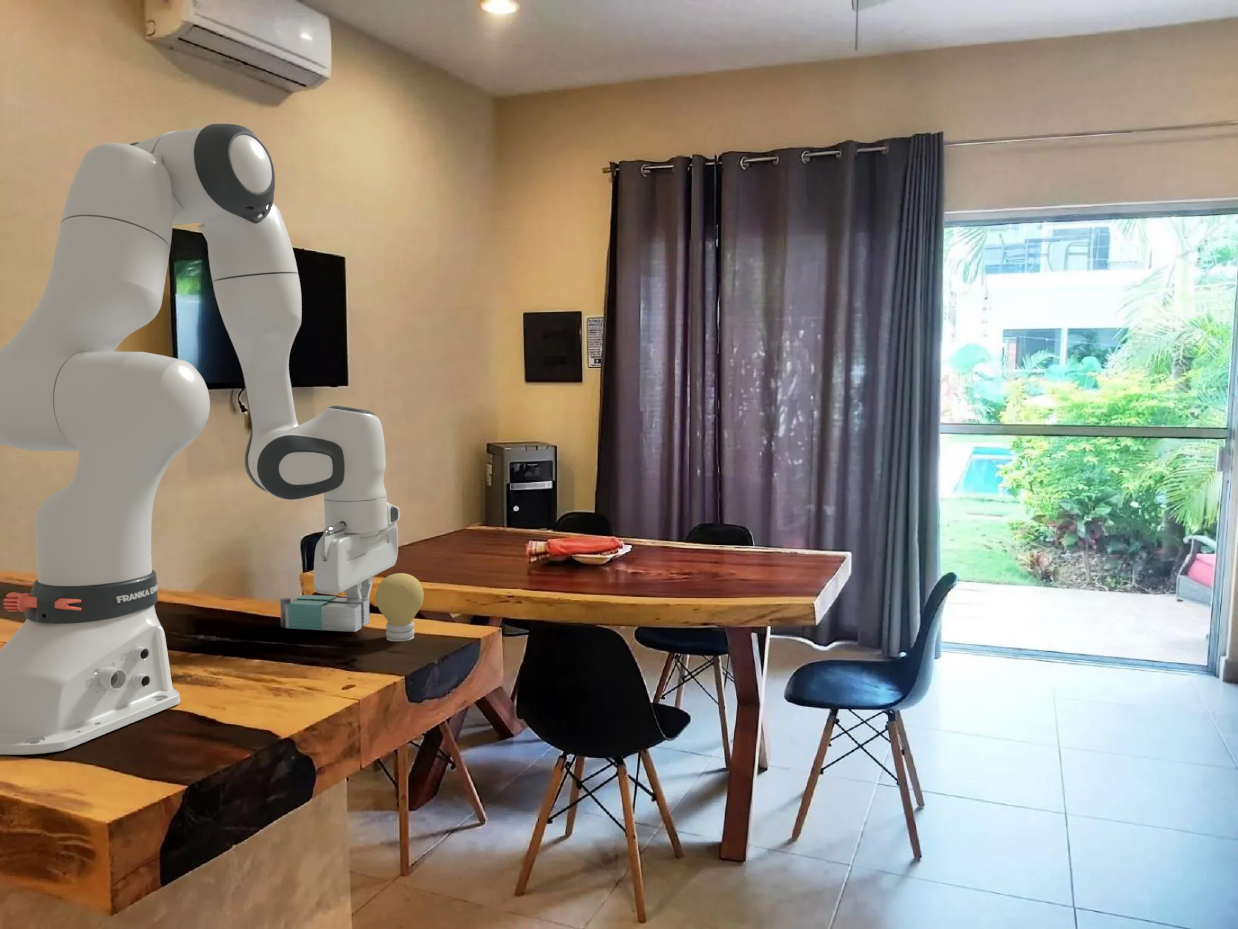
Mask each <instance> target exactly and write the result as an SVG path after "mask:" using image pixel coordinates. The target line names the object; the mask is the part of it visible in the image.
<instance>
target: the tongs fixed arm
mask: <svg viewBox="0 0 1238 929" xmlns="http://www.w3.org/2000/svg"><path fill="white" fill-rule="evenodd" d="M279 603H280V604H279V605H280V627H281V628H285V629H290V630H291V629H294V630H295V629H296V630H313V631H333V632H334V631H335V632H350V633H351V632H353V633H354V632H355V633H357V632H358V631H359V630H361V629H363V628H362V627H363V626H362V623H361V605H358V604H338V603H329V601H309V600H295V601H294V600H292V599H291V598H290V597H284V598H280V600H279Z"/></svg>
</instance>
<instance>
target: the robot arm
mask: <svg viewBox="0 0 1238 929" xmlns="http://www.w3.org/2000/svg"><path fill="white" fill-rule="evenodd" d="M275 175H276V174H275V168H274V163H273V159H272V156H271V154H270V152H269V150H268V148H267V147H266V145H265V144H264V143H263V142H262V141H261V139H259V137H258V136H257V135H256V134H255V133H254V132H253V131H252V130H250V129H249V128H247V127H246V126H243V125H240V124H233V123H211V124H208V125H206V126H204V127H196V128H189V129H182V130H172V131H167V132H164V133H161V134H157V135H156V136H153V137H150V138H147V139H145V140H143V141H139V142H136V141H135V142H132V143H130V144H128V143H122V142H108V143H107V142H105V143H101V144H98V145H95V146H93V147H92V148H90V149H89V150H88V151H87V152H86V153H85V154H84V156H83V158H81V161H80V163H79V165H78V167H77V170H76V172H75V174H74V177H73V180H72V182H71V184H70V187H69V190H68V193H67V196H66V200H65V203H64V207H63V211H62V216H61V220H60V221H61V222H60V225H59V230H58V236H57V241H56V245H55V250H54V255H53V259H52V264H51V267H50V272H49V275H48V279H47V282H46V283H47V284H46V286H45V288H44V291H43V292H42V296H41V297H40V299H39V301H38V302H37V304H36V307H35V308H34V310H33V311H32V313H31V315H30V316H29V318H27V320H26V322H24V324H23V325H22V327H21V328H20V329H19V330H18V332H17V333H15V335H14V336H13V337H12V338H11V339H10V340H9V341H8V342H6V344H5V345H4V346H3V347H1V348H0V445H3V446H6V447H11V448H16V449H22V450H26V451H29V452H30V451H34V452H36V451H40V452H41V451H42V452H43V451H44V452H52V451H53V452H78V462H77V467H76V470H75V473H74V474H73V475H74V476H73V478H72V479H71V481H70V482H69V484H68V485H67V486H66V487H63V488H61V489H59V490H58V491H56V492H54V493H53V494H51V495H50V496H48V498H46V499H44V501H43V502H42V503H40V505H39V507H38V509H37V510H36V513H35V515H34V516H35V517H34V529H35V530H34V531H35V532H34V533H35V534H34V536H35V553H36V554H35V555H36V572H37V573H36V574H37V579H36V580H35V581H34V582H33V584H32V587H31V591H30V593H29V592H24V593H21V592H14V591H12V592H9V593H7V594H6V595H5V597H6V598H4V599H3V603H2V604H3V609H6V611H7V612H9V613H10V612H11V613H12V612H13V613H14V612H20V613H24V618H25V621H24V622H23V623H22V625H21V626H20V627H19V628H18V629H17V630H16V632H14V634H12V636H11V637H10V638H9V639H8V641H7V642H6V643H5V644H4V645H3V647H2V648H1V649H0V755H10V756H11V755H37V754H38V755H39V754H47V753H49V754H50V753H55V752H61V751H65V750H68V749H71V748H74V747H77V746H78V745H81V744H83V743H86V742H88V741H91V740H92V739H95V738H98V737H101V736H103V735H106V734H107V733H110V732H112V731H115V730H118V729H120V728H123V727H125V726H128V725H129V724H132V723H135V722H137V721H140V720H142V719H145V718H147V717H150V716H152V715H154V714H157V713H159V712H162V711H164V710H168V709H170V708H172V707H174V706H177V705H179V704H180V703H181V697H180V696H181V695H180V692H179V691H178V690H177V689H175V688H174V687H173V683H172V675H171V674H172V673H171V667H170V661H169V660H170V659H169V655H168V648H167V646H168V645H167V641H166V640H167V639H166V634H165V631H164V628H163V626H162V624H161V622H160V620H159V618H158V615H157V613H156V608H155V605H156V603H157V602H158V600H159V598H158V596H159V595H158V590H159V582H158V580H157V579H158V578H157V577H158V576H157V572H156V571H155V570H154V569H153V561H152V559H153V557H152V529H153V527H152V526H153V525H152V524H153V510H154V508H153V507H154V504H155V503H154V502H155V497H156V495H157V491H158V488H159V485H160V483H161V480H162V478H163V476H164V475H165V473H166V471H167V470H168V468H169V466H170V464H171V463H172V462H173V461H174V459H175V458H176V457H177V456H178V455H179V454H180V453H181V452H182V451H183V450H184V449H185V448H187V447H188V446H189V445H191V444H192V443H194V442H195V440H196V439H198V437H199V436H200V435H201V433H203V432H202V431H203V430H204V429H205V427H206V425H207V423H208V420H209V416H210V412H211V411H210V410H211V398H210V393H209V389H208V387H207V384H206V382H205V379H204V378H203V376H202V375H201V373H200V372H199V371H198V370H197V369H196V367H195V366H194V365H193V364H192V363H190V362H188V361H187V360H184V359H179V358H176V357H171V356H167V355H162V354H157V353H152V352H151V353H150V352H145V351H116V349H117V348H118V346H120V345H121V343H122V342H123V341H124V340H125V339H126V338H128V336H130V335H131V334H133V333H134V332H136V331H138V330H140V329H141V328H143V327H145V326H147V325H148V324H149V323H151V322H152V321H153V320H154V319H155V318H156V316H157V315H158V314H159V312H160V310H161V308H162V304H163V298H164V297H163V296H164V291H165V284H166V278H167V272H168V266H169V261H170V260H169V259H170V258H169V257H170V252H171V244H172V236H173V226H181V225H189V224H190V225H191V224H199V225H197V228H198V229H199V231H200V232H201V233H202V235H203V237H204V238H205V241H206V242H207V250H208V251H207V252H208V254H207V256H208V262H209V269H210V270H209V271H210V276H211V282H212V286H213V292H214V297H215V299H216V303H217V307H218V309H219V313H220V315H221V318H222V322H223V324H224V327H225V329H226V331H227V333H228V336H229V339H230V340H231V343H232V345H233V348H234V351H235V353H236V355H237V358H238V361H239V364H240V368H241V371H242V374H243V375H242V376H243V382H244V386H245V394H246V400H247V406H248V411H249V418H250V425H251V427H250V428H251V429H250V435H249V438H248V441H247V444H246V445H247V446H246V448H245V454H244V467H245V470H246V473H247V476H248V477H249V479H250V480H251V482H252V483H253V484H254V485H255V486H257V488H259V489H260V490H262V491H264V492H266V493H268V494H270V495H272V496H274V497H276V498H278V499H281V500H286V501H298V500H303V499H306V498H310V497H314V496H317V495H321V494H323V502H324V503H323V504H324V505H323V506H324V530H323V533H322V536H321V537H320V538H319V540H318V541H317V543H316V544H315V545H316V546H315V550H314V560H313V587H314V589H315V591H316V592H317V593H318V594H320V595H321V594H322V595H338V594H341V593H345V595H346V598H363V599H369V600H370V594H371V591H372V588H373V582H374V578H373V577H375V576H377V575H378V574H380V573H382V572H384V571H386V570H388V569H390V568H392V567H394V566H395V565H396V562H397V559H398V556H399V529H398V528H399V527H398V524H397V522H399V521H400V520H401V519H400V517H401V512H400V511H401V510H400V507H399V506H398V505H397V506H396V505H395V504H391V503H390V502H388V494H387V490H386V487H385V481H384V480H385V479H384V477H385V472H386V469H387V468H386V467H387V459H386V458H387V457H386V456H387V455H386V444H385V436H384V430H383V429H384V428H383V425H382V422H381V420H380V418H379V417H378V415H376V414H375V413H373V412H371V411H370V410H366V409H361V408H356V407H349V406H342V405H332V406H328V407H326V408H325V409H324V410H323V411H322V412H320V413H319V414H318V415H316V416H315V417H313V418H311V419H309V420H307V421H306V422H304V423H301V424H299V422H298V419H297V416H296V415H297V414H296V409H295V403H294V396H293V389H292V382H291V378H290V369H289V368H290V366H289V364H290V354H291V349H292V348H293V347H292V346H293V344H294V342H295V338H296V336H297V334H298V332H299V330H300V327H301V325H302V316H303V315H302V314H303V313H302V312H303V310H302V308H303V307H302V306H303V305H302V304H303V303H302V300H303V299H302V288H301V281H300V280H301V279H300V276H299V270H298V265H297V261H296V257H295V253H294V249H293V245H292V242H291V241H292V240H291V239H290V235H289V232H288V229H287V226H286V224H285V221H284V219H283V216H282V214H281V211H280V210H279V209H280V208H278V206H277V205H276V204H275V203H274V199H275V189H276V176H275Z"/></svg>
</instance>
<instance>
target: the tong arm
mask: <svg viewBox="0 0 1238 929" xmlns="http://www.w3.org/2000/svg"><path fill="white" fill-rule="evenodd" d="M295 600H309V601H329V603H338V604H358V605H361V623H362V627H365V626H366V625H368V624H369V623H370V598H369V599H363V598H347V597H337V596H336V595H321V594H320V595H318V594H317V595H315V594H302V595H301V596H298V597H295V598H294V599H293V601H295Z"/></svg>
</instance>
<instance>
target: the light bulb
mask: <svg viewBox="0 0 1238 929" xmlns="http://www.w3.org/2000/svg"><path fill="white" fill-rule="evenodd" d="M424 597H425V592H424V589H423V586H422V583H421V582H420V581H419V579H418V578H416V577H415V576H413V575H411V574H408V573H404V572H403V573H402V572H399V573H392V574H389V575H388V576H386V577H384V579H382V580H381V582H379V584H378V586H377V589H376V592H375V603H376V606H377V608H378V610H379V612H380V613H381V614H382V615H383V617H384V618H385V619H386V621H387V622H386V625H385V627H386V628H385V629H386V632H385V634H386V640H387V641H390V642H407V641H410V640H412V639H414V638H415V636H414V635H415V623H414V621H413V620H414V618H415V617H416V616H417V613H418V612H419V611H420V609H421V608H422V605H423V603H424Z"/></svg>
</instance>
